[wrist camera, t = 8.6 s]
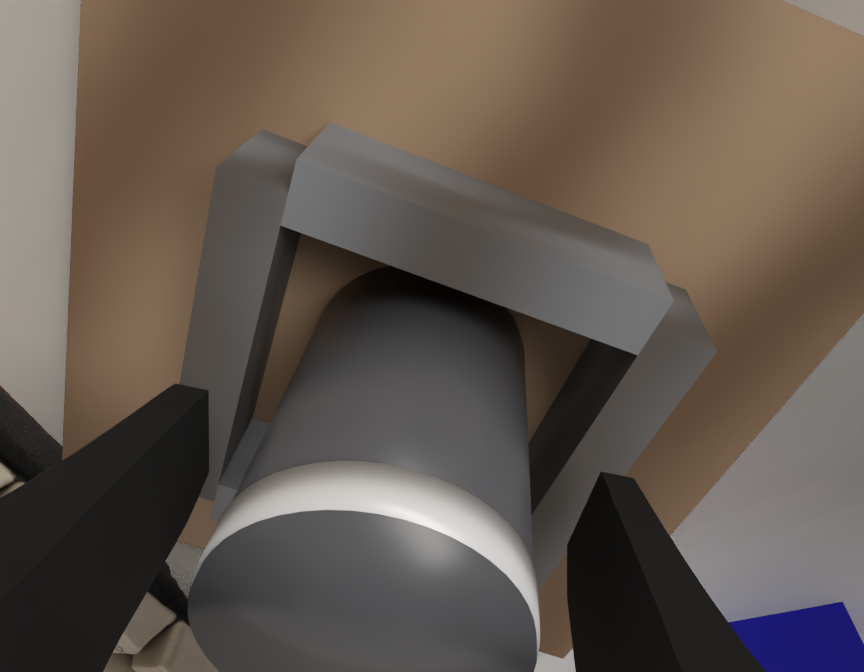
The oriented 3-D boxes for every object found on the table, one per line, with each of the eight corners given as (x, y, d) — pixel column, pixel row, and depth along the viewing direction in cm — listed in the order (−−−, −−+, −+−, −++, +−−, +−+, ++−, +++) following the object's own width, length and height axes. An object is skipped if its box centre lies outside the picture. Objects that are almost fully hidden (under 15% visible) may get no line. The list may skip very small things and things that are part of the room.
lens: (549, 282, 13) (582, 560, 7) (503, 454, 16) (502, 760, 10) (317, 244, 13) (168, 489, 7) (309, 422, 16) (195, 706, 10)
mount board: (992, 96, 12) (1154, 152, 9) (560, 624, 21) (569, 734, 18) (134, -279, 10) (-18, -364, 7) (83, 475, 20) (9, 571, 17)
